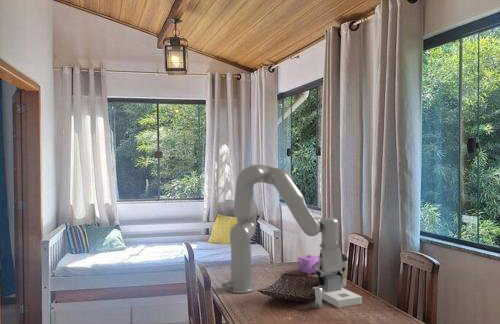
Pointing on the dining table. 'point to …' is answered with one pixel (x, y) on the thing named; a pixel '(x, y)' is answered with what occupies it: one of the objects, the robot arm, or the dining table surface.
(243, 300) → the dining table surface
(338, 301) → the board
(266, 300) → the dining table surface
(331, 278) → the cover
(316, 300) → the pin
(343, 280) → the coffee cup
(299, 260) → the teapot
